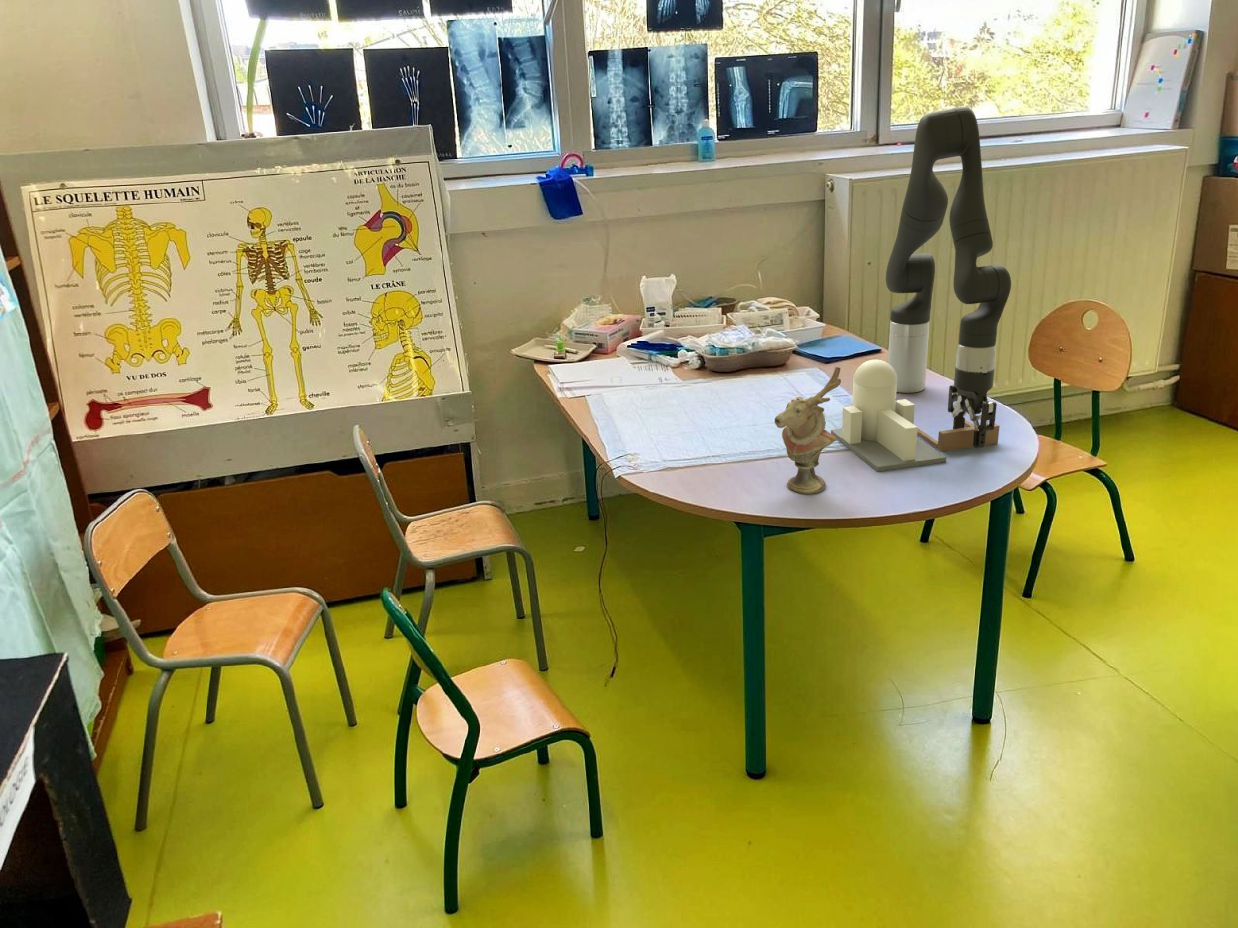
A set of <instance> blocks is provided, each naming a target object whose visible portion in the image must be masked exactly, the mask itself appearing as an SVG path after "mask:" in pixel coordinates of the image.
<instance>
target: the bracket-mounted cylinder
mask: <svg viewBox="0 0 1238 928" xmlns="http://www.w3.org/2000/svg"><path fill="white" fill-rule="evenodd" d="M852 379H853V382H852V383H853V385H852V405H850V406H843V407H842V428H836V429H831V430H830V434H832V435H834V436H835V437H836V441H839V442H840V443H841V444H842V445H844V446H845V447H846V448H847V449H848V450H850V451H851V452H852V453H853V454H855V455H856V456H857V457H859V459H861V460H862V461H864V462H865V463H866V464H868V465H869V466H870V467H871V468H872V469H873V470H875V471H876V472H883V471H889V470H890V471H891V470H898V469H905V468H912V467H918V466H926V465H932V464H939V463H941V464H942V463H946V462H947V457H946V456H945V455H944V454H943V453H940V451H939V450H936V448H934V447H933V446H931V445H929V444H927V442H925V441H924V440H922V439H921V438H918V436H917V428H918V426H916V425H915V423H914V421H915V420H914V419H915V406H916V404H915V403H913V402H911V401H909V400H908V399H906V398H904V399H898V400H897V392H896V390H897V375H896V372H895V370H894V369H893V367H892V366H891V365H890V364H888V363H887V361H884V360H881V359H869V360H867V361H864V362H863V363H862V364H860V365H859V366H858V368H857V369H856V371H855V372H854V374H853V378H852ZM918 429H919V428H918Z"/></svg>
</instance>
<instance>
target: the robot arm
mask: <svg viewBox="0 0 1238 928" xmlns="http://www.w3.org/2000/svg"><path fill="white" fill-rule="evenodd" d="M914 137H915V138H914V146H913V154H912V162H911V170H910V174H909V179H908V184H907V189H906V192H905V196H904V199H903V202H902V208H901V212H900V218H899V224H898V228H897V233H896V238H895V241H894V244H893V247H892V250H891V253H890V256H889V258H888V263H887V265H886V270H885V271H886V272H885V285H886V288H887V289H888V291H889V292H891V293H894V294H915V295H914V296H913V297H912V298H911V299H908V300H907V301H906V302H903V303H901V304H899V305H895V306H894V307H893V308H892V309H891V311H890V317H889V318H890V320H889V338H888V348H887V358H886V359H887V360H886V362H887V363H888V364H890V365H891V366H892V367H893V369H894V370H895V372H896V375H897V390H896V393H904V394H905V393H906V394H910V393H918V392H921V391H923V390H925V388H926V378H927V376H926V375H927V364H928V351H929V347H928V346H929V335H930V334H929V333H930V321H931V311H932V300H933V298H932V297H933V292H934V283H935V274H936V263H935V258H934V256H933V255H932V254H931V253H928V252H927V253H926V252H925V253H924V252H923V253H915V252H916V251H917V250H918V249H920V248H921V247H922V246H924V245H925V244H926V243H928V241H930V240H931V239H932V238H934V236H935V235H936V234H937V233H939V232H938V231H940V229H941V227H942V225H943V223H944V220H945V216H946V212H947V209H948V205H949V197H948V193H947V191H946V189H945V188H944V186H943V184H942V183H941V181H940V180H939V178H938V177H937V176H936V174H935V172H934V169H933V168H934V165H935V163H936V162H937V161H939V160H945V159H949V158H954V157H955V158H956V157H960V159H961V164H962V168H961V169H962V172H961V173H962V174H961V177H960V182H959V185H958V188H957V190H956V192H955V195H954V198H953V200H952V203H951V206H950V209H949V210H950V211H949V218H948V219H949V229H950V232H951V237H952V243H953V245H954V251H955V254H954V271H953V272H954V273H953V285H952V286H953V291H954V295H955V296H956V298H957V299H958V301H960V302H961V303H963V304H965V305H975V304H979V305H978V307H977V308H976V309H975V310H974V311H972V312H970V313H969V312H968V313H967V314H965V315H964V316H962V318H961V320H960V323H959V334H958V335H959V336H958V345H957V349H956V354H955V356H956V357H955V368H954V379H953V384H951V385H949V389H948V401H947V403H948V404H947V412H948V413H951V416H952V418H953V424H952V429H959V428H965V427H964V425H965V420H966V415H967V414H968V415H969V419H970V421H971V422H972V424H973V425H974V428H975V430H974V439H973V447H972V448H975V449H980V448H984V447H985V446H986V445H985V437H986V431H988V430H994V425H995V423H996V413H997V407H998V405H997V402H995V401H989V400H988V395H987V394H988V392H989V391H991V389H993V387H994V378H995V370H996V369H995V368H996V360H997V359H996V358H997V353H996V352H997V350H996V349H997V348H996V347H997V346H996V344H997V333H998V324H999V322H1000V319H1001V317H1002V315H1003V312H1004V310H1005V307H1006V304H1007V303H1008V299H1009V297H1010V294H1011V291H1012V290H1011V288H1012V280H1011V279H1012V278H1011V275H1010V273H1009V271H1008V270H1007V268H1006V267H1004V266H1003V265H999V264H993V265H986V266H985V265H984V266H977V261H978V260H977V259H978V258H980V257H983V256H984V255H987V254H988V253H989V252H991V251H992V249H993V247H994V246H993V238H992V232H991V229H990V228H991V227H990V224H989V219H988V214H987V210H986V203H985V197H984V195H985V194H984V181H983V178H984V177H983V165H982V163H983V162H982V153H981V152H982V150H981V139H980V131H979V125H978V119H977V118H976V114H975V113H974V111H973V109H971V108H970V107H968V106H960V107H959V106H958V107H953V108H948V109H942V110H938V111H932V112H929V113H926V114H924V115H923V116H922V117H920V119H919V121H918V124H917V128H916V132H915V136H914ZM954 403H955V404H954ZM979 421H980V422H979ZM988 421H989V422H988Z"/></svg>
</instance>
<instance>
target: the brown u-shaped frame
mask: <svg viewBox="0 0 1238 928" xmlns="http://www.w3.org/2000/svg"><path fill="white" fill-rule="evenodd" d="M974 430H975V428H974V423H971V422H970V421H967V420H966V419H965V425H964V428H959V429H953V428H952V429H945V430H939V431H938V439H937V440H936V439H935V438H934V437H932V436H931V435H930V434H928V433H926V432H924V431H923V430H921V429H920V428H917V437H919V439H921V440H922V441H924V442H925V443H928V445H929V444H930V446H931V447H933V448H934V449H937V451H939V452H942V453H943V452H947V451H954V450H961V449H969V448H974V447H973V439H974ZM999 435H1000V425H999V424H997V423H996V422H995V425H994V430H988V431H986V437H985V445H984V446H991V445H997V444H998V443H999Z"/></svg>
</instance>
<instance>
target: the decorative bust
mask: <svg viewBox="0 0 1238 928" xmlns="http://www.w3.org/2000/svg"><path fill="white" fill-rule="evenodd" d="M840 372H841V367H837V366H835V368H834V371H833V373H832V376H831V377H830V379H829V380H828V381H827V383H826V384H825V385H824V387H823V388H822V389H821V390H820V391H819V392H817V394H816V395H814V396H810V397H808V398H806V399H804V398H803V397H802V396H797V397H795V398H793V399H791V400H790V402H787V404H786V408H785V409H784V411H781V412H780V413H779V414H777V415H776V416H775V417H774V424H775V426H776V427H777V428H778V429H782V431H781V438H782V440H783V444H784V446H785V449H786V455H787V457H788V458H789V459H790V460H791V462H792V461H793V462H794V465H795V467H796V468H797V473H796V475H794V476H792V477H791V478H789V479H788V480H787V482H786V486H787V488H788V489H789V490H790V491H792V492H795V493H797V494H802V495H813V494H818V493H821V492H822V491H824V490H825V488H826V487H827V485H826V481H825V479H824V478H823V477H822V476H820V475H818V474H816V470H815V468H816V467H818V466H819V465H820V462H819V460H820V456H821V453H822V451H823V450H824V449H826V448H827V447H828V446H830V445H831V444H833V443H834V442H836V441H837V439H836V437H835V436H834V435H832V434H831V432H829V431H828V430H826V429H825V428H826V423H827V422H826V417H825V414H824V413H825V408H824V407H823V406H820V405H822V404H823V403H827V402H830V400H831V398H830V397H824V396H826V395H827V394H828V393H830V392H831V391H833V390H834V389H836V388H838V387H839V386H840V385H841V383H842V380H841V378H839V377H840ZM819 404H820V405H819Z"/></svg>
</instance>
